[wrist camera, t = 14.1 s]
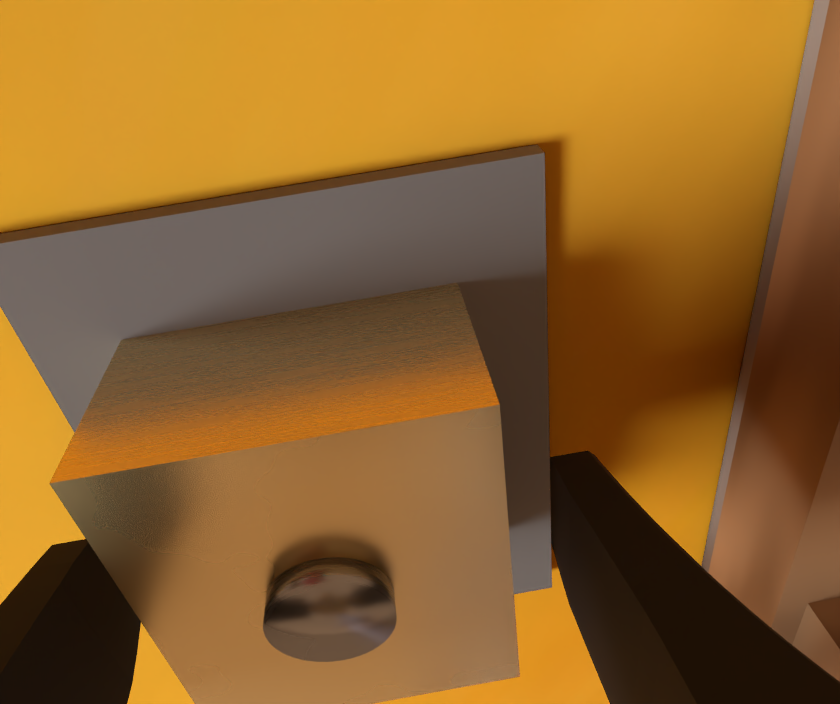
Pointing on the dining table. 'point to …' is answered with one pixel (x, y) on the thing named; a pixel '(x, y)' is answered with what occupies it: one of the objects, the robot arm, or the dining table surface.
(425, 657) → the wooden block
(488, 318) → the mat
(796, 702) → the robot arm
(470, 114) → the dining table surface
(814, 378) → the plane body
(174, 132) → the dining table surface
